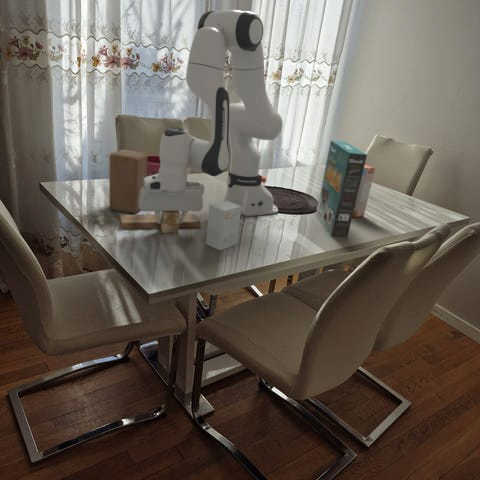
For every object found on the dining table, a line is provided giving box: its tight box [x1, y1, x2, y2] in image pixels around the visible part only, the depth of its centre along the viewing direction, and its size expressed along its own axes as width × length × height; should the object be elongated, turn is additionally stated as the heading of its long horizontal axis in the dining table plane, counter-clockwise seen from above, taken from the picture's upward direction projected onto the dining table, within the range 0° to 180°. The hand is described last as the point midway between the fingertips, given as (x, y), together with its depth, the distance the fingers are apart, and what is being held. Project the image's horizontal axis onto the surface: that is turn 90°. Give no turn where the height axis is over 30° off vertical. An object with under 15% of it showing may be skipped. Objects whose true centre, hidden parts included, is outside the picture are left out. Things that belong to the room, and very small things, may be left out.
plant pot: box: [147, 154, 160, 177], centre depth 175 cm, size 14×14×13 cm
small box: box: [205, 200, 242, 252], centre depth 131 cm, size 8×6×13 cm
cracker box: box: [352, 164, 376, 218], centre depth 177 cm, size 14×6×21 cm, turn 38°
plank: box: [119, 213, 202, 230], centre depth 143 cm, size 26×7×2 cm, turn 109°
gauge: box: [160, 211, 181, 234], centre depth 139 cm, size 5×9×7 cm, turn 20°
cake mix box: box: [315, 140, 368, 239], centre depth 156 cm, size 22×6×30 cm, turn 5°
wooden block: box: [109, 149, 148, 215], centre depth 149 cm, size 10×10×20 cm
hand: (170, 223), depth 137 cm, fingers closed on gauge, 5 cm apart
